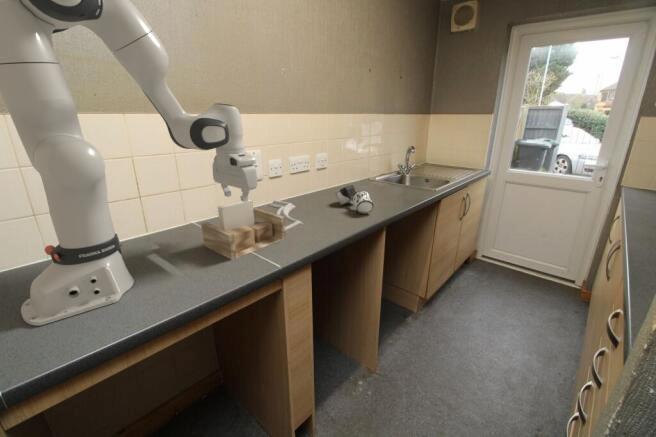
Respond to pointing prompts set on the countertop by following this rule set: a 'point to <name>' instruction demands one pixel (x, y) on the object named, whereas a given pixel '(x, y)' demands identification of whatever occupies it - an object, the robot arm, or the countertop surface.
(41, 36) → the robot arm
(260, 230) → the walnut offcut
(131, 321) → the countertop surface
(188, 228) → the countertop surface
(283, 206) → the molding
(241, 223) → the white square panel
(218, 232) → the offcut rack
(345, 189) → the patterned dumbbell
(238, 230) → the oak offcut
